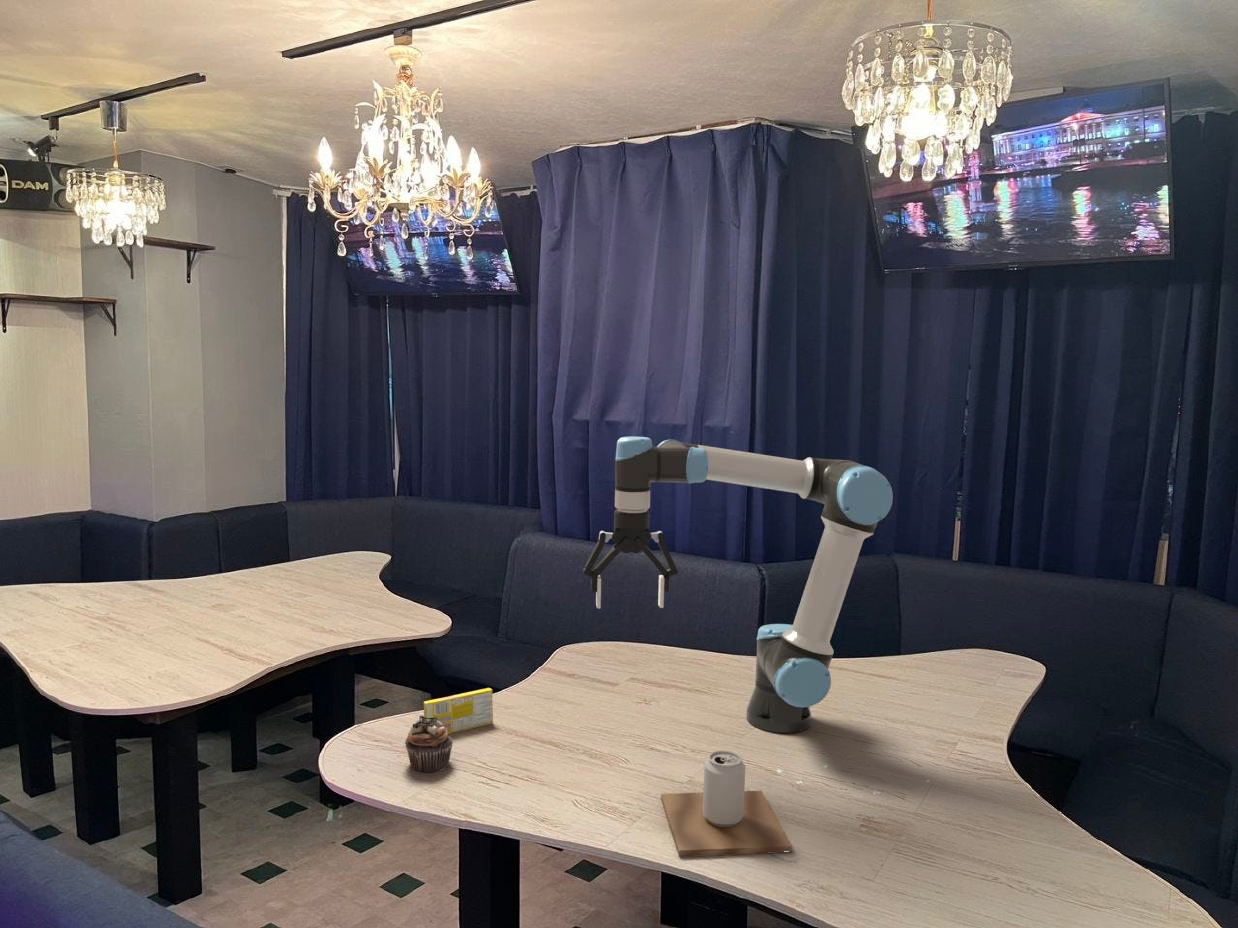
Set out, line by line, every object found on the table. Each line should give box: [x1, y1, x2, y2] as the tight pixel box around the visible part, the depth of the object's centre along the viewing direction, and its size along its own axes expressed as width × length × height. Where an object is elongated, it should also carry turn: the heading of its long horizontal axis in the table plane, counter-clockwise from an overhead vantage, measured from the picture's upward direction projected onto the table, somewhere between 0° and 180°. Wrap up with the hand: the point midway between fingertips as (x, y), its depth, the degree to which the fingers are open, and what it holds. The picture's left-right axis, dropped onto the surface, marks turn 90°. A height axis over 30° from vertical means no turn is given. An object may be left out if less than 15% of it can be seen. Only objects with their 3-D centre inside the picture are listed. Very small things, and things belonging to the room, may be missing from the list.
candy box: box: [423, 687, 494, 735], centre depth 206 cm, size 16×2×8 cm, turn 123°
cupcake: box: [405, 715, 454, 774], centre depth 188 cm, size 10×10×10 cm
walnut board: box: [660, 790, 793, 858], centre depth 167 cm, size 20×20×1 cm
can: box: [702, 750, 746, 827], centre depth 167 cm, size 8×8×12 cm
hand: (629, 606), depth 195 cm, fingers open, 13 cm apart
